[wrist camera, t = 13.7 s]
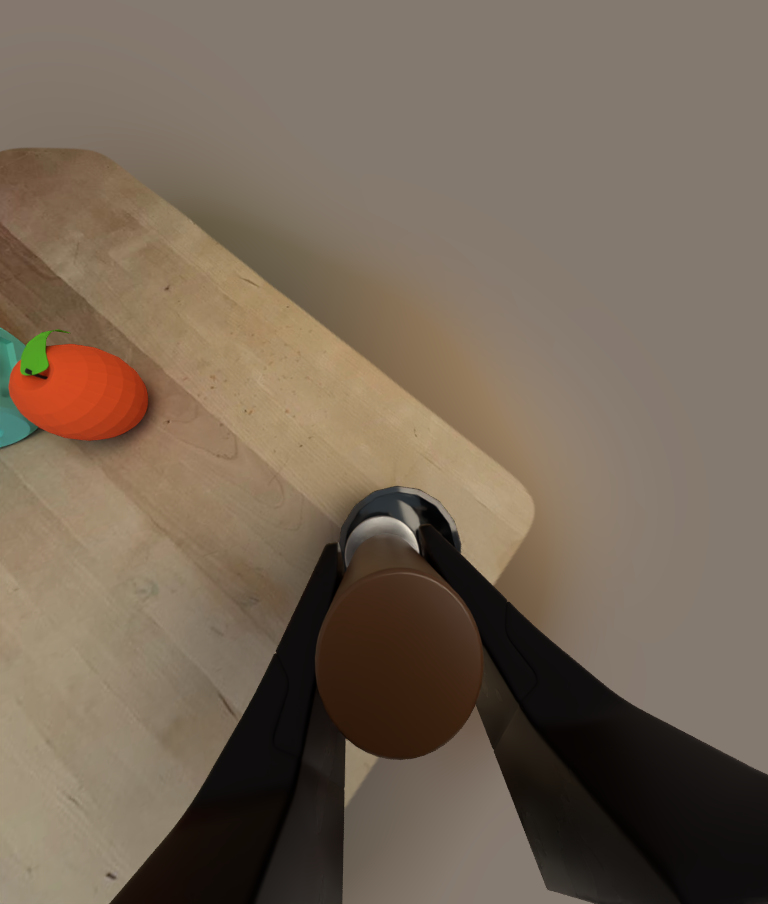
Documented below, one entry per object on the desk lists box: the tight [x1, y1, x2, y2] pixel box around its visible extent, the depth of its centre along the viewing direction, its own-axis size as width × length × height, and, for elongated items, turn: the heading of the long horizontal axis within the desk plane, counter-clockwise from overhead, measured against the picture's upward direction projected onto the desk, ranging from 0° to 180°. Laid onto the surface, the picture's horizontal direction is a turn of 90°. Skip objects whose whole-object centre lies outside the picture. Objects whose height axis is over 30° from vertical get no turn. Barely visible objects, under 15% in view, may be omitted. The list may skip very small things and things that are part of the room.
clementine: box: [8, 330, 148, 441], centre depth 20 cm, size 8×7×7 cm
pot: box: [339, 486, 461, 572], centre depth 19 cm, size 7×7×6 cm
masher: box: [315, 515, 483, 760], centre depth 10 cm, size 4×4×12 cm
